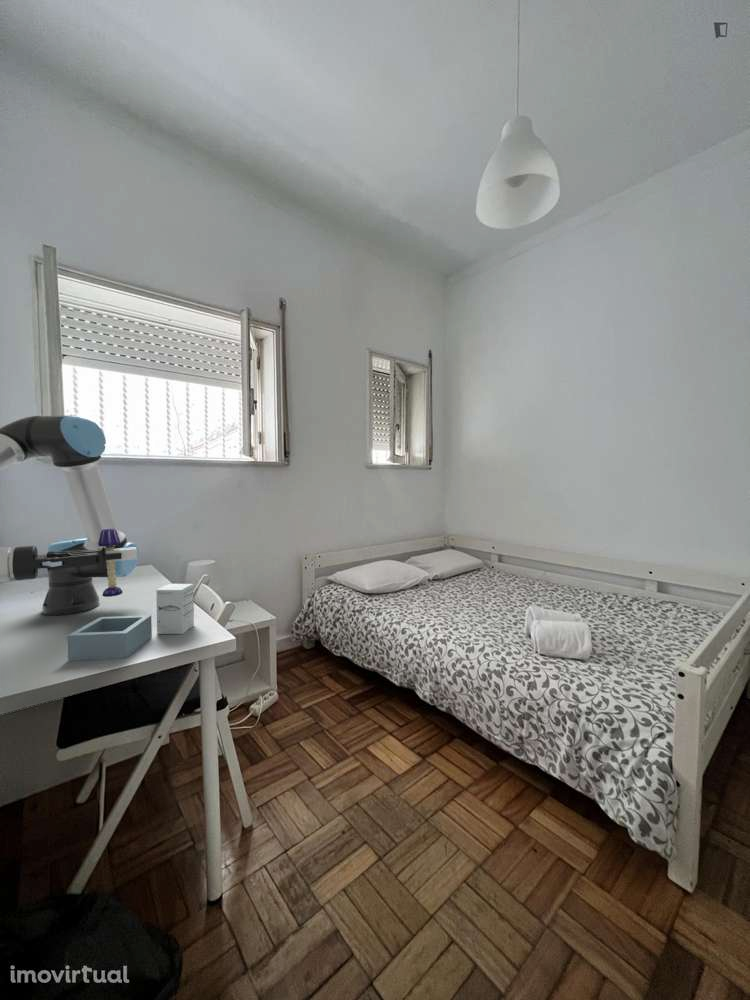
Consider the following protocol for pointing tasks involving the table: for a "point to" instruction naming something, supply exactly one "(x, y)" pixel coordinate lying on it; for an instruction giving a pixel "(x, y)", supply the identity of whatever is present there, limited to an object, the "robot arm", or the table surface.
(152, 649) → the table surface
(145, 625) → the blue-gray open box
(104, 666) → the table surface
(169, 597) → the supplement box
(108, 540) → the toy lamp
